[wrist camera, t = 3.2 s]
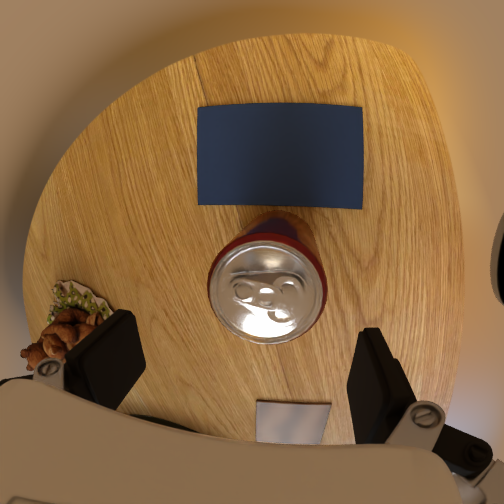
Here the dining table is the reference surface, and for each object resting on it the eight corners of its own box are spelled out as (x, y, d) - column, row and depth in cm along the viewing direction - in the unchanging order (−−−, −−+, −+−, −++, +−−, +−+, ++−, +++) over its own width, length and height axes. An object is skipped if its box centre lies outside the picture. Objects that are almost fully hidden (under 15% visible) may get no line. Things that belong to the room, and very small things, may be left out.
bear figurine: (125, 379, 36) (85, 429, 25) (57, 332, 37) (12, 368, 25) (136, 314, 32) (78, 368, 21) (57, 265, 33) (-4, 295, 21)
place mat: (361, 108, 22) (362, 107, 22) (361, 209, 25) (362, 209, 24) (198, 108, 24) (197, 107, 24) (198, 204, 27) (197, 204, 27)
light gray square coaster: (331, 402, 31) (331, 404, 31) (319, 442, 34) (319, 444, 34) (256, 399, 33) (256, 401, 33) (256, 439, 36) (255, 441, 35)
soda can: (325, 222, 26) (348, 258, 14) (301, 289, 28) (302, 362, 16) (253, 199, 26) (219, 217, 15) (233, 268, 28) (193, 327, 17)
